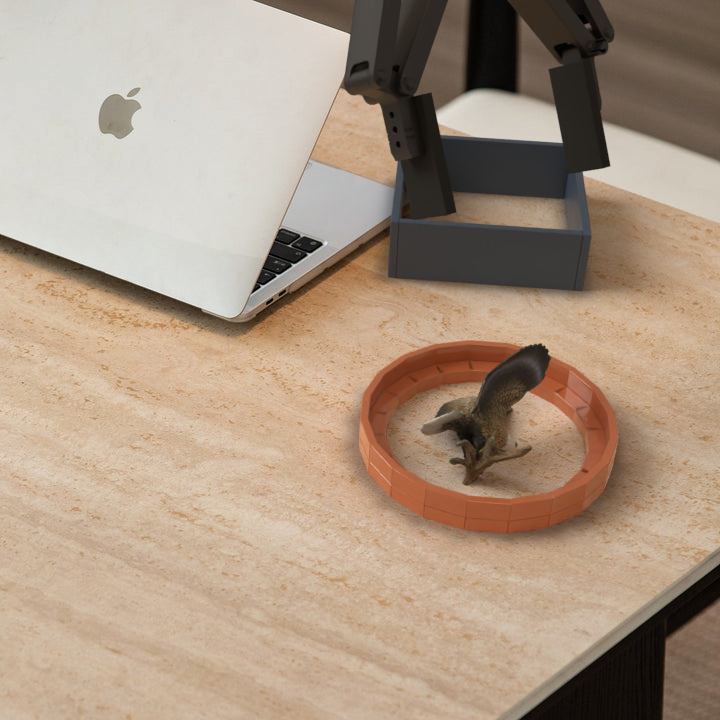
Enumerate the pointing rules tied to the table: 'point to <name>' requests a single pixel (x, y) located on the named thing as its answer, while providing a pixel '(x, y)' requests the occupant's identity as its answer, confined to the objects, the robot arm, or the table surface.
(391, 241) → the bin
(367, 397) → the faceted orange ring
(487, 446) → the eagle figurine
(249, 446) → the table surface
